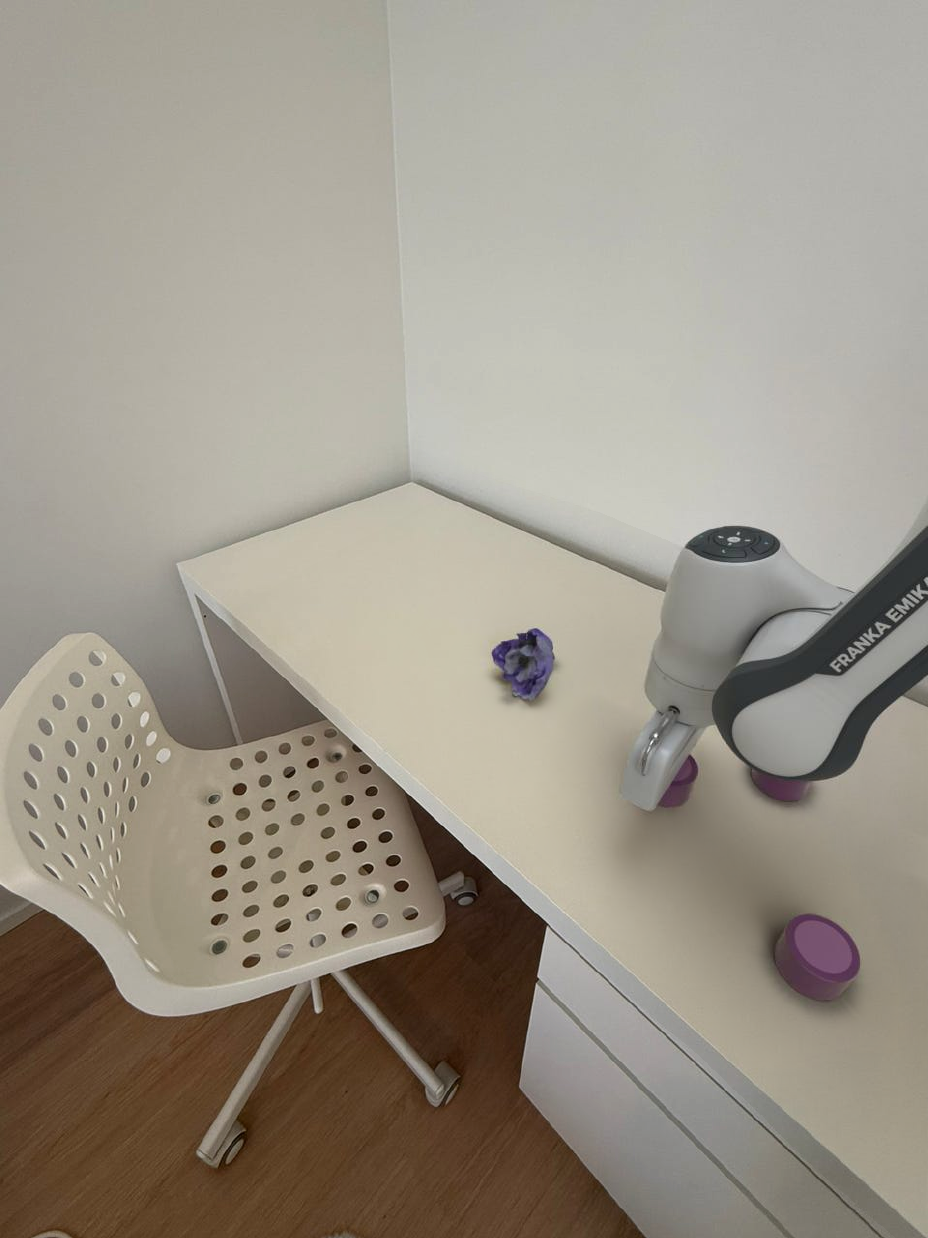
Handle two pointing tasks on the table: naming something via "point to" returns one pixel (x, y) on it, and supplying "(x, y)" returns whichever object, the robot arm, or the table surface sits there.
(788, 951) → the dish
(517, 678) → the flower
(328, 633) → the table surface
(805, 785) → the dish middle
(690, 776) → the dish
